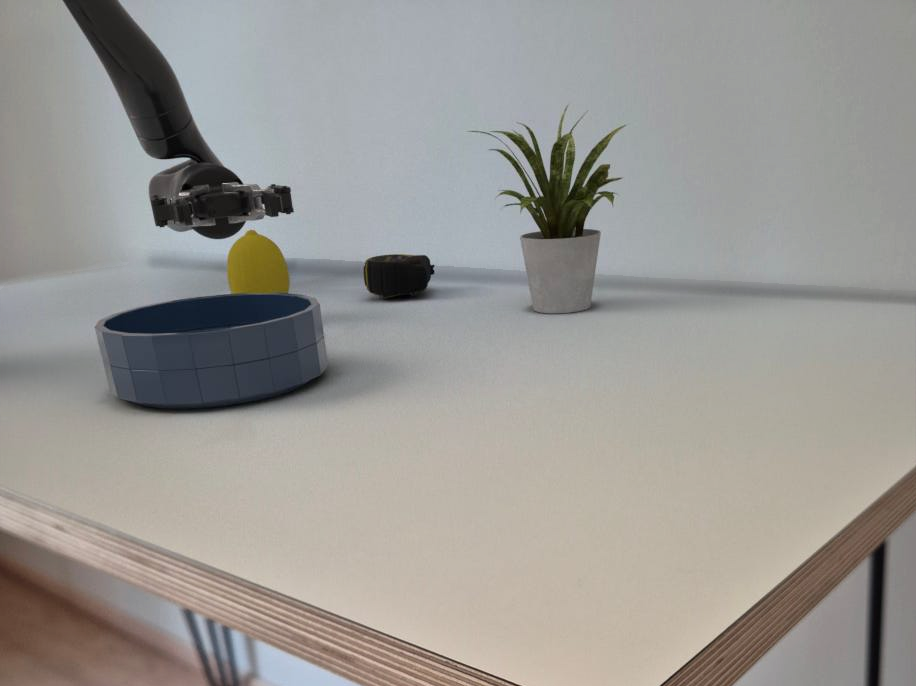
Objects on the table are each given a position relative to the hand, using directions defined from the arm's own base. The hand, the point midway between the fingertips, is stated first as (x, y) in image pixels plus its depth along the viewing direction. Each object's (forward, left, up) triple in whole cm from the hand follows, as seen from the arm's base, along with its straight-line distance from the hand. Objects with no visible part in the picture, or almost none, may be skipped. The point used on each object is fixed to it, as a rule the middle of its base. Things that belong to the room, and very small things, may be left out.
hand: (231, 209), depth 95 cm
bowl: (-13, -32, -9) cm, 36 cm away
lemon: (-2, -11, -9) cm, 14 cm away
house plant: (+19, -27, -9) cm, 34 cm away
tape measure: (+14, -9, -9) cm, 19 cm away
